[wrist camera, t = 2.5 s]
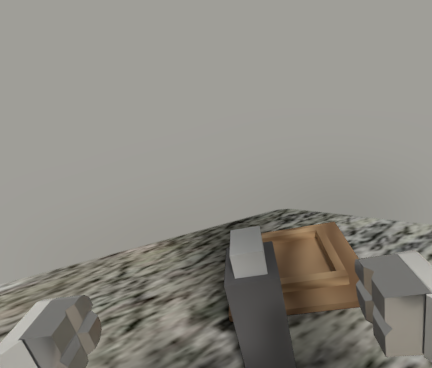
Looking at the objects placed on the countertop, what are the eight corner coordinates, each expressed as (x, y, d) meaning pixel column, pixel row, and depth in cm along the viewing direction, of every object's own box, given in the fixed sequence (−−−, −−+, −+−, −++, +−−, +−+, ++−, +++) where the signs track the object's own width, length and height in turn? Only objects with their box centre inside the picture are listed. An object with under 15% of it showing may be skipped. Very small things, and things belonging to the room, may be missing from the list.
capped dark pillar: (289, 336, 28) (268, 220, 24) (299, 385, 24) (275, 254, 19) (249, 340, 29) (221, 228, 24) (251, 389, 24) (217, 262, 20)
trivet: (334, 226, 44) (333, 214, 43) (384, 303, 29) (384, 288, 29) (232, 242, 46) (229, 231, 46) (230, 321, 31) (226, 307, 31)
